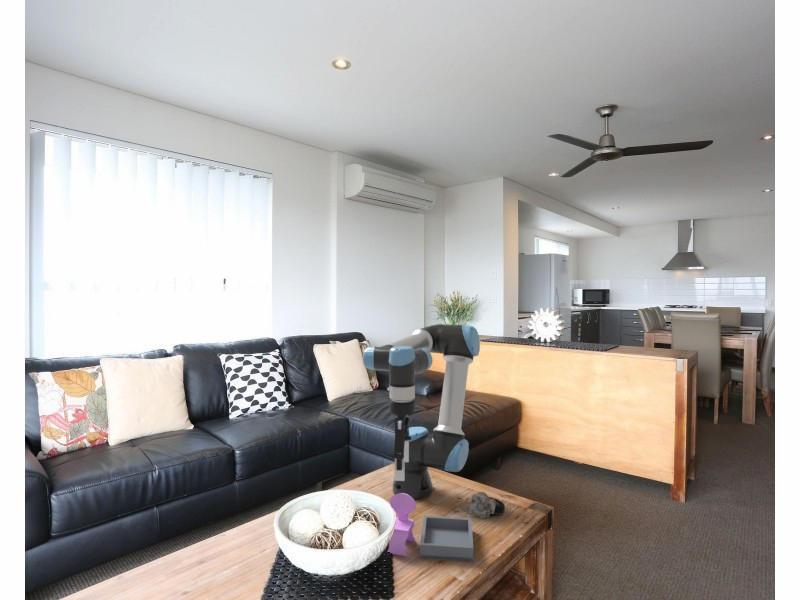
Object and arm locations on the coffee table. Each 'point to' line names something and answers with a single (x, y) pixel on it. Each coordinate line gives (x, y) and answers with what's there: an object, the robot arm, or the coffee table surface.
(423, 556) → the tray
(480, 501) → the grey brown rock
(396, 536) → the toy chair
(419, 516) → the coffee table surface
